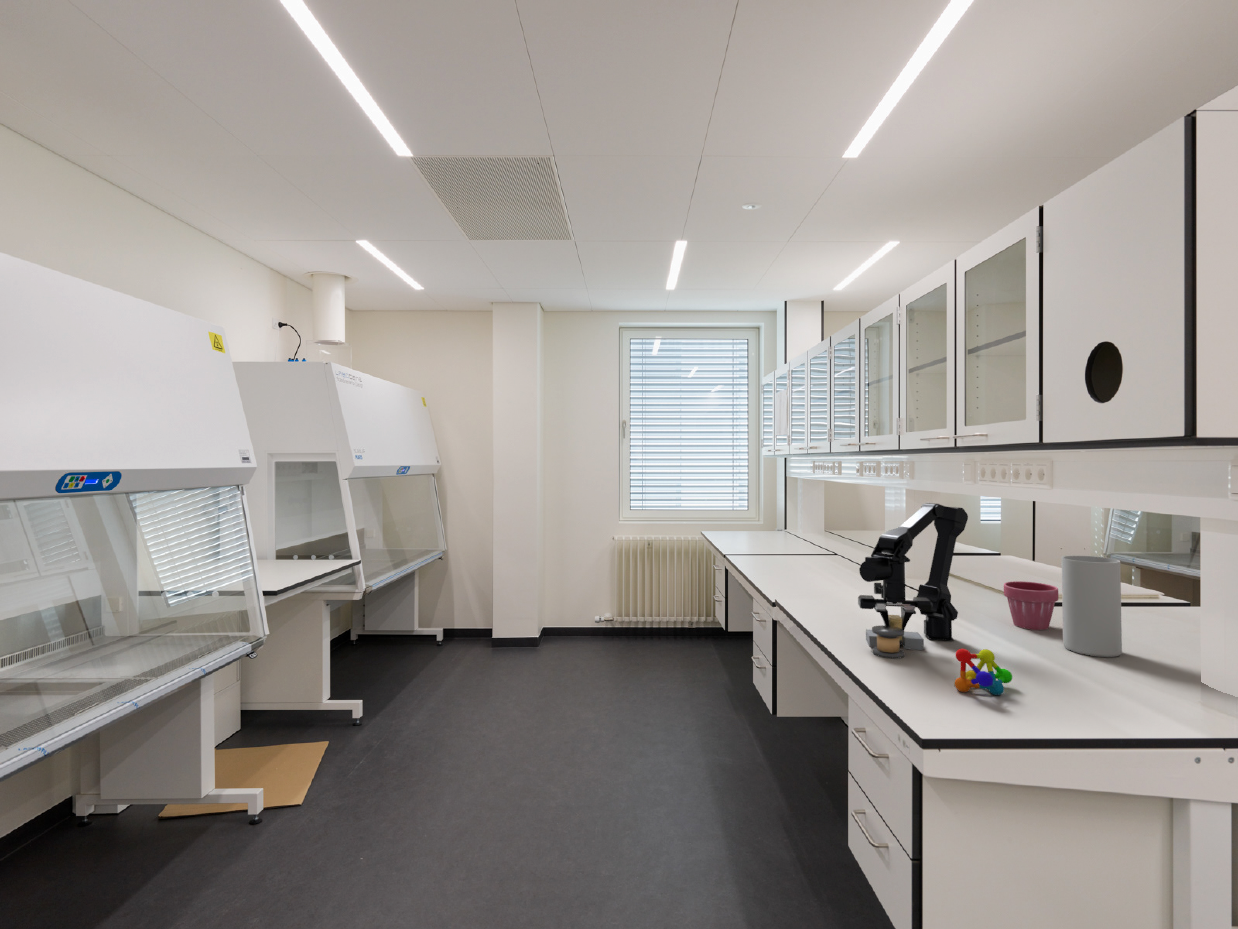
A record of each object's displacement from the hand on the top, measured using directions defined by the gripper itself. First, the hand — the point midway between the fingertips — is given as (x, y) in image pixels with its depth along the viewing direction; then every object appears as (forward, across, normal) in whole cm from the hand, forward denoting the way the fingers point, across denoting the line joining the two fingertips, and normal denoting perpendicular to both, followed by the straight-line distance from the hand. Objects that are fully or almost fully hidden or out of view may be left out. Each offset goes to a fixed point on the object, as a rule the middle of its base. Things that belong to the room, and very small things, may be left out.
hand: (894, 633), depth 166 cm
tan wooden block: (+1, 0, 0) cm, 1 cm away
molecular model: (+4, -13, +30) cm, 33 cm away
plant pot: (+4, -45, -31) cm, 55 cm away
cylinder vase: (+4, -51, -7) cm, 51 cm away
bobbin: (+4, +3, +8) cm, 9 cm away
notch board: (+4, 0, -2) cm, 4 cm away
